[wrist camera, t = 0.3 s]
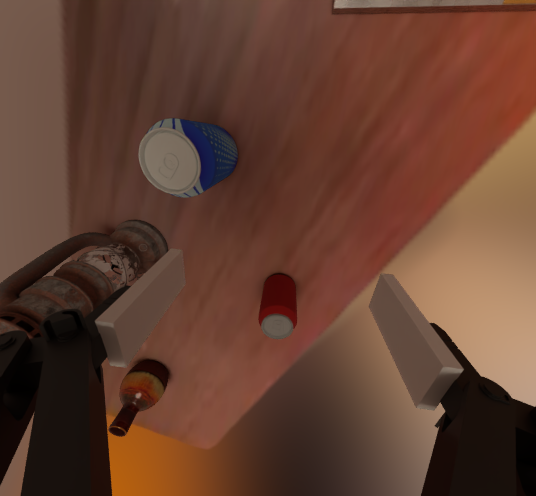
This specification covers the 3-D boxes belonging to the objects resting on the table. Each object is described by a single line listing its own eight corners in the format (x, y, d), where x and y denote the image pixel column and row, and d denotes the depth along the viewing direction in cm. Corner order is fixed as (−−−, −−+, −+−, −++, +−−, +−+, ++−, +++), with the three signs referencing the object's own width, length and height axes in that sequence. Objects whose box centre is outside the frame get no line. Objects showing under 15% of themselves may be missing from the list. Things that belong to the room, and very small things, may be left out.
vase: (127, 360, 64) (82, 421, 50) (158, 352, 62) (120, 414, 48) (149, 384, 68) (114, 446, 55) (180, 378, 66) (150, 442, 52)
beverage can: (262, 295, 50) (254, 338, 39) (266, 269, 47) (259, 308, 36) (292, 300, 50) (292, 345, 39) (298, 275, 47) (301, 316, 36)
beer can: (182, 131, 37) (114, 128, 23) (231, 118, 35) (192, 106, 21) (199, 183, 40) (150, 208, 26) (244, 173, 39) (219, 194, 25)
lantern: (168, 281, 51) (-29, 516, 19) (98, 243, 48) (-267, 446, 16) (187, 245, 46) (-28, 474, 15) (111, 201, 43) (-355, 368, 12)
